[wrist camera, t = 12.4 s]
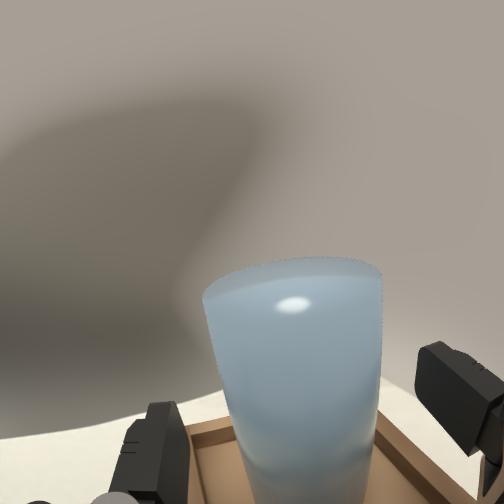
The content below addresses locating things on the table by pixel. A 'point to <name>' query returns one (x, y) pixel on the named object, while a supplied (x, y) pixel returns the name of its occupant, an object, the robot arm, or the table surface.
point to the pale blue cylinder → (301, 374)
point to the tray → (379, 481)
